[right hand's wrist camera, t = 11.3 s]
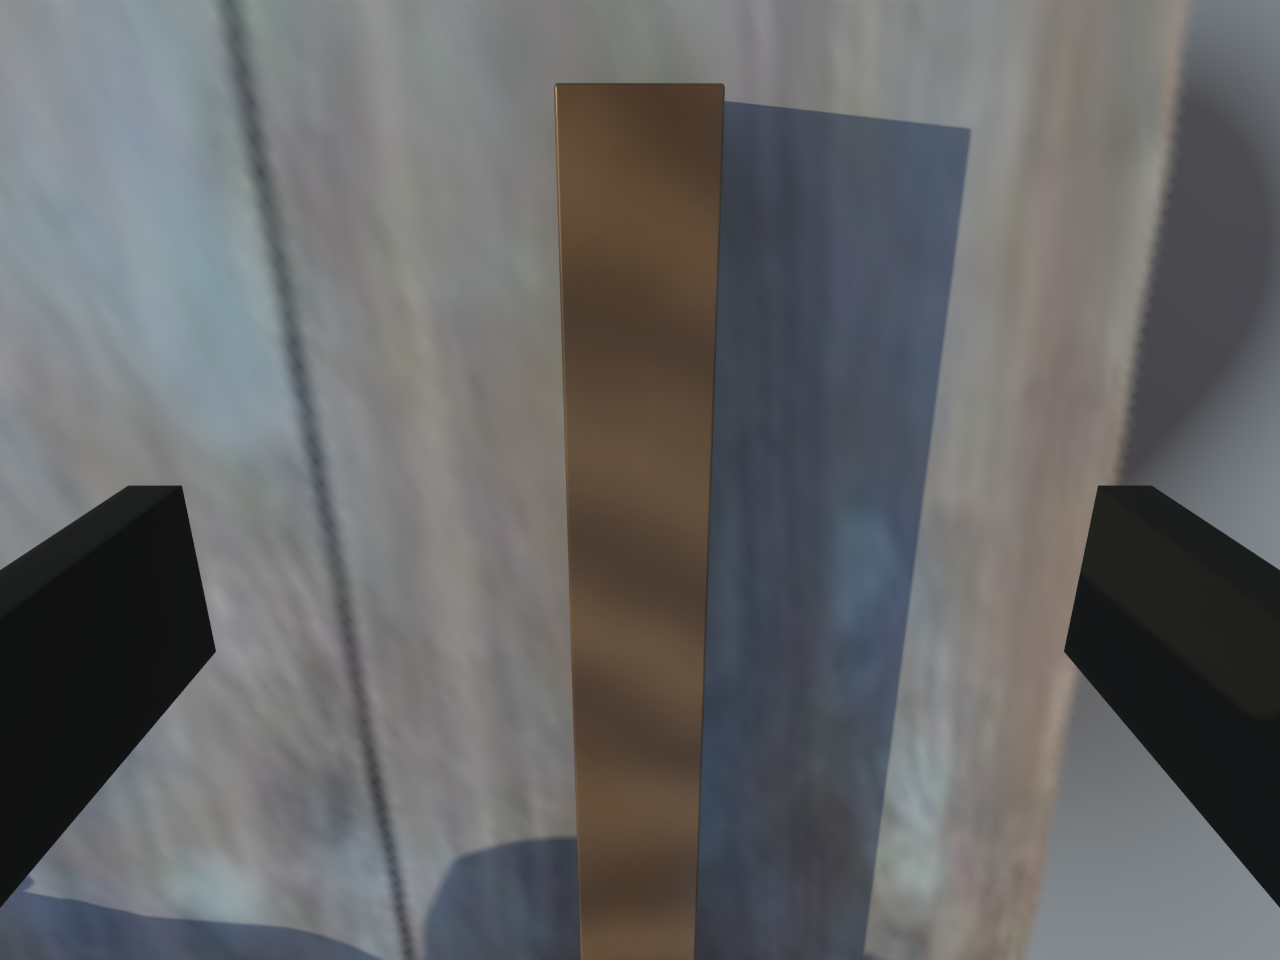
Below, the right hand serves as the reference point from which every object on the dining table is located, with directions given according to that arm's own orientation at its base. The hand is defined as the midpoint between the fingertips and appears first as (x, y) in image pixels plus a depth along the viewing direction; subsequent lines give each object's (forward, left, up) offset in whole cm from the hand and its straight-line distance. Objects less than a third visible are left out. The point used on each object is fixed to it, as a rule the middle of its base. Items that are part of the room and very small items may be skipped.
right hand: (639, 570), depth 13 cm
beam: (+17, +30, -21) cm, 40 cm away
